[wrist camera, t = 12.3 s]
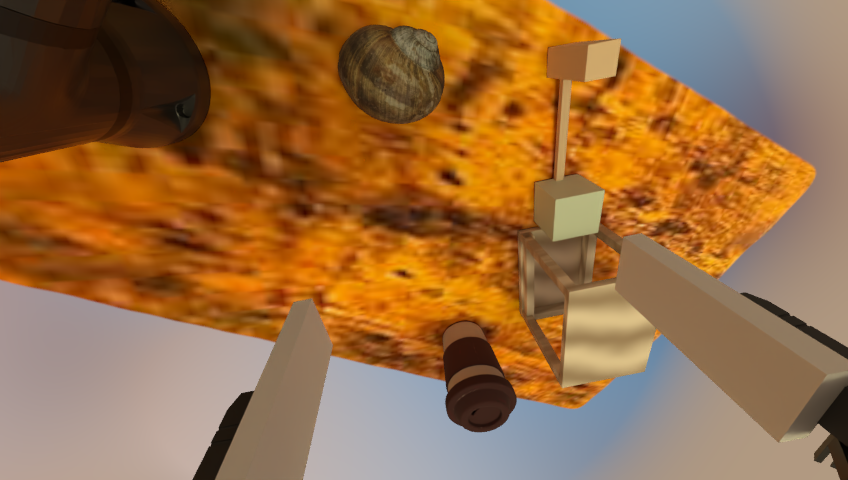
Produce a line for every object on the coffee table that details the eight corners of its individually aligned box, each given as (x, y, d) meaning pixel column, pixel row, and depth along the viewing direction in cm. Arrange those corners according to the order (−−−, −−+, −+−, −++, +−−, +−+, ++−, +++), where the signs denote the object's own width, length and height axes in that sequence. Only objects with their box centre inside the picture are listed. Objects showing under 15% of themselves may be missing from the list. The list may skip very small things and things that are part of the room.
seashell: (455, 59, 34) (471, 54, 27) (415, 136, 37) (421, 149, 30) (361, -4, 31) (352, -30, 23) (327, 86, 34) (310, 87, 27)
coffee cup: (498, 340, 55) (531, 421, 42) (450, 362, 57) (468, 447, 44) (475, 305, 51) (504, 383, 38) (424, 330, 52) (435, 414, 39)
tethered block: (535, 50, 34) (572, 48, 27) (587, 40, 34) (637, 35, 27) (530, 217, 45) (556, 245, 38) (570, 209, 45) (602, 236, 38)
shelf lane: (517, 230, 45) (569, 292, 32) (590, 216, 45) (671, 271, 32) (519, 311, 52) (562, 387, 39) (581, 299, 52) (644, 371, 39)
